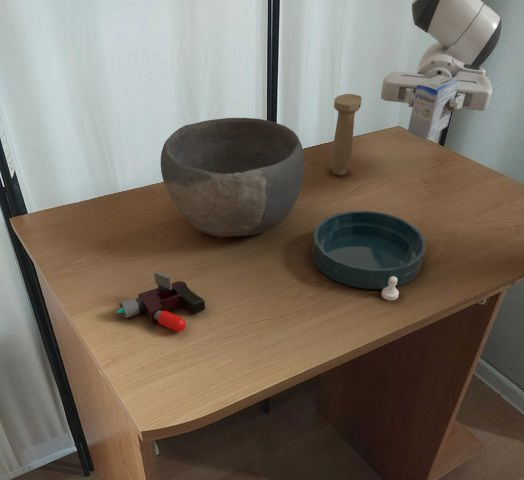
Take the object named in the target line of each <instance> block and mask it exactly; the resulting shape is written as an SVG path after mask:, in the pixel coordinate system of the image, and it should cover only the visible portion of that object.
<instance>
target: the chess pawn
mask: <svg viewBox="0 0 524 480" xmlns="http://www.w3.org/2000/svg"><path fill="white" fill-rule="evenodd" d="M388 283H389V286H388V287H386V288H384V289H381V297H382V298H383V299H384V300H386V301H396V300H397V299H398V298H399V294H400V291H399V290H398V289H397V287H395V285H396V284H397V278H396V277H394V276H392V277H390V278H389V282H388Z"/></svg>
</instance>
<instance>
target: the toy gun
mask: <svg viewBox="0 0 524 480" xmlns="http://www.w3.org/2000/svg"><path fill="white" fill-rule="evenodd" d="M153 274H154V275H153V276H154V281H155V285H157V287H155V288H153V289H150V290H147V291H144V292H140V293H138V294H137V298H135V297H132V298H129V299H126V300H123V301H120V302H119V307H120V309H119V310H117V311H115V313H117V314H118V313H121V314H122V315H123V317H124V319H129V318H132V317H134V316H138V315H140V314H141V313H142V312H143V313H145V315H146V317H147V318H148V319H149V321H150V323H151V324H152V325H154V324H156V323H157V322H158V324H159V325H161V326H164V327H166V328H167V329H170V330H172V331H174V332H177V333H181V332H183V331H184V330H185V329H186V326H187V323H186V321H185V319H184V318H182V317H180V316H179V315H176V314H174V313H172V312H171V311H173V310H176V309H180V308H185V309H186V310H187V311H189V312H190V313H192V314H197V313H199V312H203V311H205V310H206V304H205V302H206V301H205V300H204V298H202V297H201V296H199V295H197V294H196V293H194V292H192V290H191V289H190V288H189V287H188V286H187V285H188V284H187V283H186V281H180V280H178V281H174V282H172V279H171V276H169V275H167V274H165V273H161V272H159V271H155V272H153Z"/></svg>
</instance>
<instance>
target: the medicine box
mask: <svg viewBox="0 0 524 480" xmlns="http://www.w3.org/2000/svg"><path fill="white" fill-rule="evenodd" d="M458 83H459V81H458V80H456V79H453V78H450V77H446V76H441V75H437V76H435V77H433V78H431V79H429V80H427V81H425V82H423V83H421V84H419V85H417V88H416V93H415V98H414V103H413V107H411V112H410V117H409V123H408V128H407V132H408V133H409V134H411V135H413V136H415V137H420V138H423V139H429V138H431V137H432V136H434V135H436V134H437V133H439V132H441V131H442V130H444V129H445V128H448V126H449V122H450V118H451V114H452V111H448V106H449V102H450V98H454V99H455V95H456V92H457V87H458ZM408 133H407V134H408Z"/></svg>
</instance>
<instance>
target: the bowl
mask: <svg viewBox="0 0 524 480" xmlns="http://www.w3.org/2000/svg"><path fill="white" fill-rule="evenodd" d="M160 172H161V177H162V180H163V185H164V188H165V190H166V192H167V195H168V196H169V198H170V201H171V202H172V204H173V205H174V207H175V208H176V209H177V211H178V213H179V214H180V215H181V216H182V217H183V218H184V219H185V220H186V221H188V223H189V224H190V225H191V226H192V227H193V228H195V229H196V230H198V231H200V232H202V233H205V234H208V235H211V236H214V237H221V238H225V237H227V238H229V237H245V236H255V235H258V234H260V233H263V232H266V231H268V230H270V229H272V228H275V226H277V225H278V224H280V223H281V222H283V221H284V219H285V218H286V217H287V216H288V215H289V214H290V213H291V211H292V210H293V208H294V206H295V204H296V202H297V200H298V198H299V196H300V194H301V193H300V192H301V189H302V186H303V183H304V173H305V153H304V149H303V146H302V143H301V140H300V138H299V136H298V134H296V133H295V131H294V130H292V129H291V128H289V127H288V126H286V125H283V124H280V123H277V122H275V121H271V120H267V119H262V118H255V117H253V118H252V117H224V118H215V119H214V118H213V119H207V120H204V121H203V120H202V121H199V122H195V123H189V124H185V125H183V126H181V127H179V128H178V129H177V130H175V131H174V132H173V133H171V134H170V136H169V137H168V138H167V139H166V140H165V142H164V144H163V146H162V150H161V153H160Z"/></svg>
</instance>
